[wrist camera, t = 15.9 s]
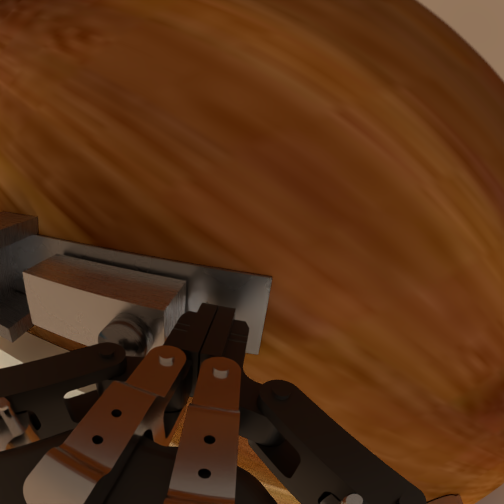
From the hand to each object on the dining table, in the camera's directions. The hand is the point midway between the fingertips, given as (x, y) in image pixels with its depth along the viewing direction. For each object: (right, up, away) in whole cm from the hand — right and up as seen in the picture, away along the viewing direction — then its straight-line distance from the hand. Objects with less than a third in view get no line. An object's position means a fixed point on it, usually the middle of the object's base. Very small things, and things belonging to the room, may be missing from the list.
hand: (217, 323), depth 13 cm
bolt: (-6, +1, +2) cm, 6 cm away
